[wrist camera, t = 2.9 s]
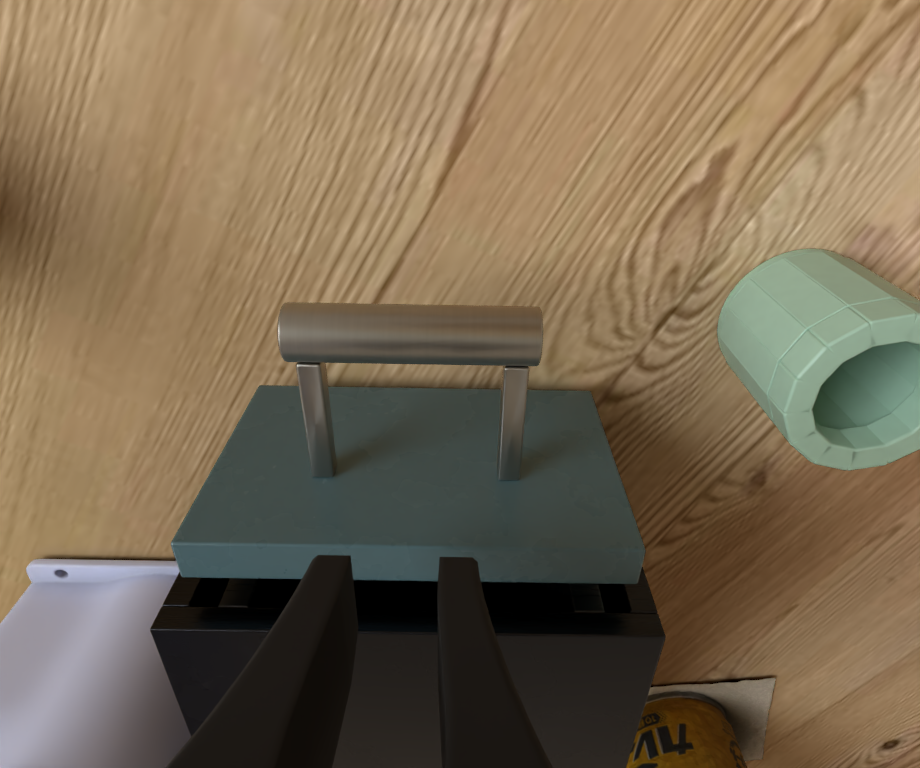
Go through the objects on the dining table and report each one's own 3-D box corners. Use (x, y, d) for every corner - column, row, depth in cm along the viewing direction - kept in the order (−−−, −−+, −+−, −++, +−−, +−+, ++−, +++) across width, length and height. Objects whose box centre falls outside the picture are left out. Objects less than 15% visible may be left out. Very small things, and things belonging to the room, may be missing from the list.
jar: (702, 379, 21) (763, 470, 17) (737, 245, 19) (819, 311, 14) (836, 381, 21) (931, 473, 17) (888, 247, 19) (1016, 315, 14)
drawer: (232, 241, 18) (108, 359, 12) (612, 248, 18) (692, 369, 12) (305, 638, 27) (258, 819, 21) (552, 641, 27) (579, 823, 21)
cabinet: (257, 418, 22) (148, 629, 14) (596, 424, 22) (666, 637, 14) (303, 662, 29) (248, 886, 22) (556, 665, 29) (589, 890, 22)
